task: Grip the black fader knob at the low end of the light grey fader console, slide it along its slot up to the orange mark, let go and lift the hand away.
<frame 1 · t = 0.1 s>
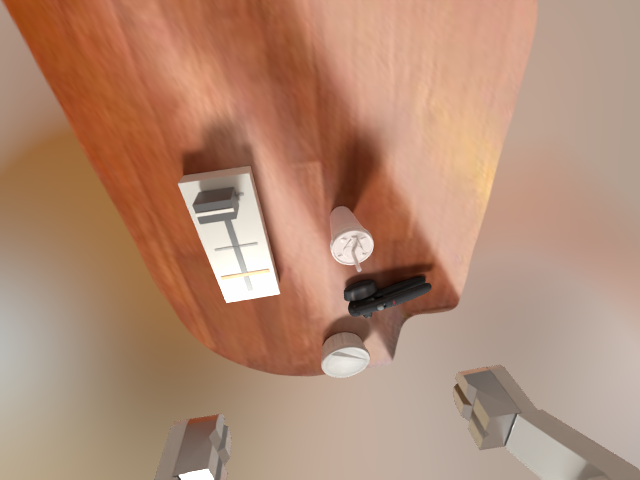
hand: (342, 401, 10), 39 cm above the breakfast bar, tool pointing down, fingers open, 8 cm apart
fader console: (238, 236, 51), on the breakfast bar
fader knob: (217, 205, 41), point 6 cm above the breakfast bar, slide at 0.0 cm
smoothie: (340, 215, 51), on the breakfast bar
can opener: (384, 285, 63), on the breakfast bar
ramekin: (341, 343, 72), on the breakfast bar
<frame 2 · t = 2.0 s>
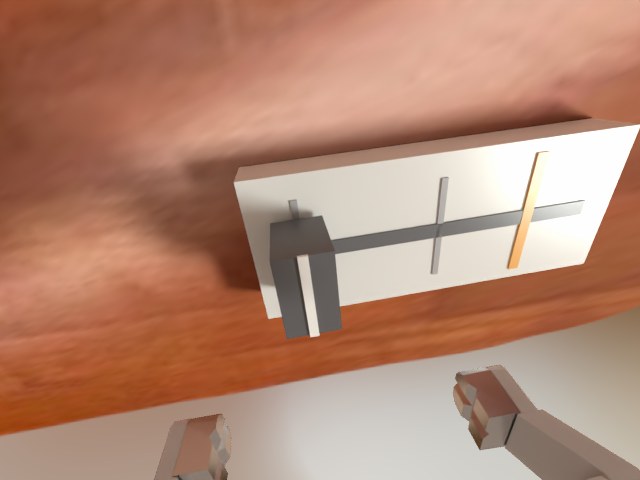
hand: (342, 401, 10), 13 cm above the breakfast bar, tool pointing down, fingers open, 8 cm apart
fader console: (419, 211, 22), on the breakfast bar
fader knob: (305, 275, 16), point 6 cm above the breakfast bar, slide at 0.0 cm
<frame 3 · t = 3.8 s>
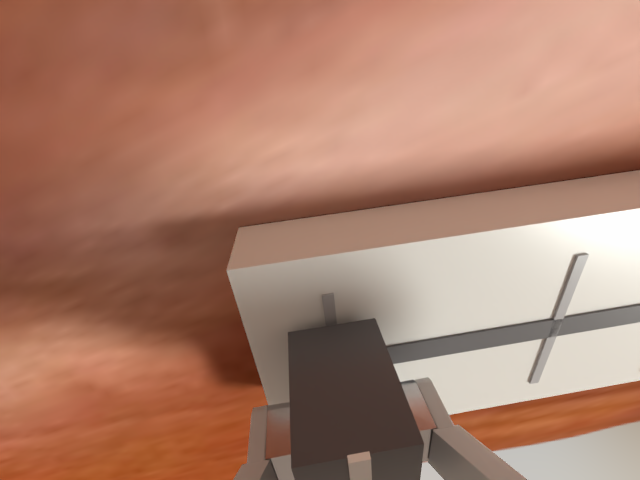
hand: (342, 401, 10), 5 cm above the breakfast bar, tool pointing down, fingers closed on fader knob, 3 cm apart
fader console: (505, 282, 15), on the breakfast bar
fader knob: (348, 429, 9), point 6 cm above the breakfast bar, slide at 0.0 cm, touching gripper
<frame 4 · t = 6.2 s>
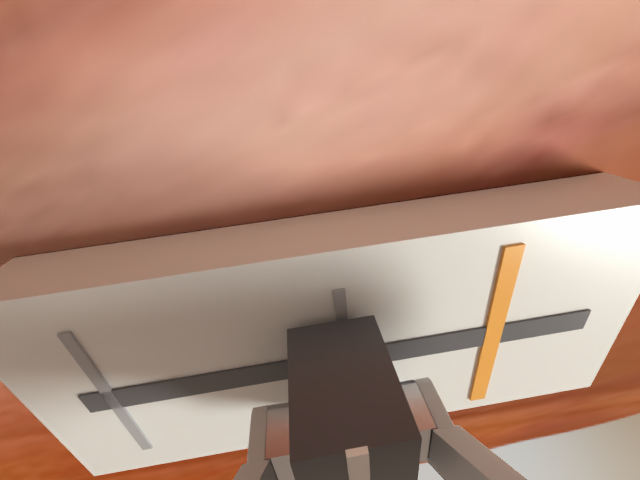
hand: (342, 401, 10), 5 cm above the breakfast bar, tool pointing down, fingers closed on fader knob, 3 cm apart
fader console: (333, 307, 14), on the breakfast bar
fader knob: (346, 425, 10), point 6 cm above the breakfast bar, slide at 8.6 cm, touching gripper
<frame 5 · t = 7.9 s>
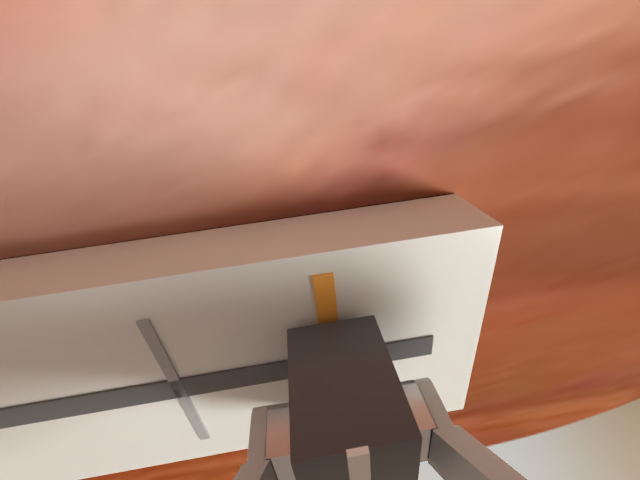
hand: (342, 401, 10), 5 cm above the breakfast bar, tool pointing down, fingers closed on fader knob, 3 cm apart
fader console: (197, 329, 14), on the breakfast bar
fader knob: (347, 425, 10), point 6 cm above the breakfast bar, slide at 15.1 cm, touching gripper
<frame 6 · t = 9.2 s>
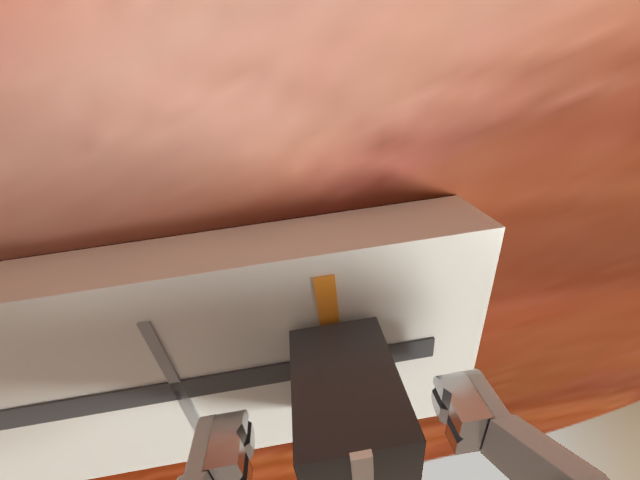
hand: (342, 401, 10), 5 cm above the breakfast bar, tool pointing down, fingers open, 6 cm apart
fader console: (198, 330, 14), on the breakfast bar
fader knob: (349, 427, 10), point 6 cm above the breakfast bar, slide at 15.1 cm
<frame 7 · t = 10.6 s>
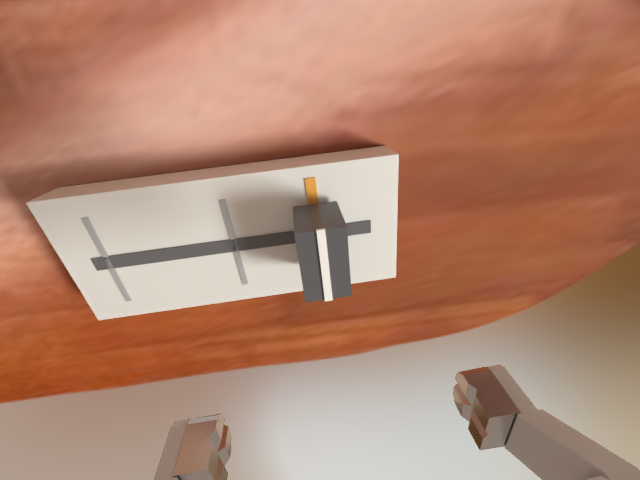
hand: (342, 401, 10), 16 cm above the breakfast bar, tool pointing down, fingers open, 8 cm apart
fader console: (240, 226, 24), on the breakfast bar
fader knob: (321, 250, 20), point 6 cm above the breakfast bar, slide at 15.1 cm
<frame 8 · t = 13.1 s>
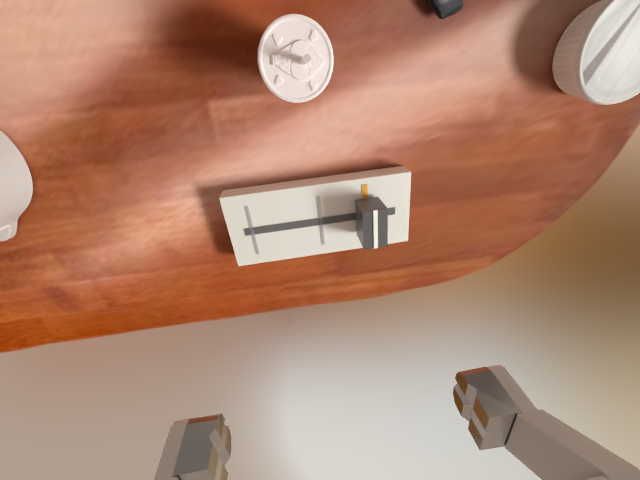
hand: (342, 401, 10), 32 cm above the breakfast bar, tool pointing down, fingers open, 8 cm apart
fader console: (318, 212, 42), on the breakfast bar
fader knob: (371, 222, 37), point 6 cm above the breakfast bar, slide at 15.1 cm
smoothie: (292, 65, 33), on the breakfast bar
ramekin: (585, 51, 36), on the breakfast bar
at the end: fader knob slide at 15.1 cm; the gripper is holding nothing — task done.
